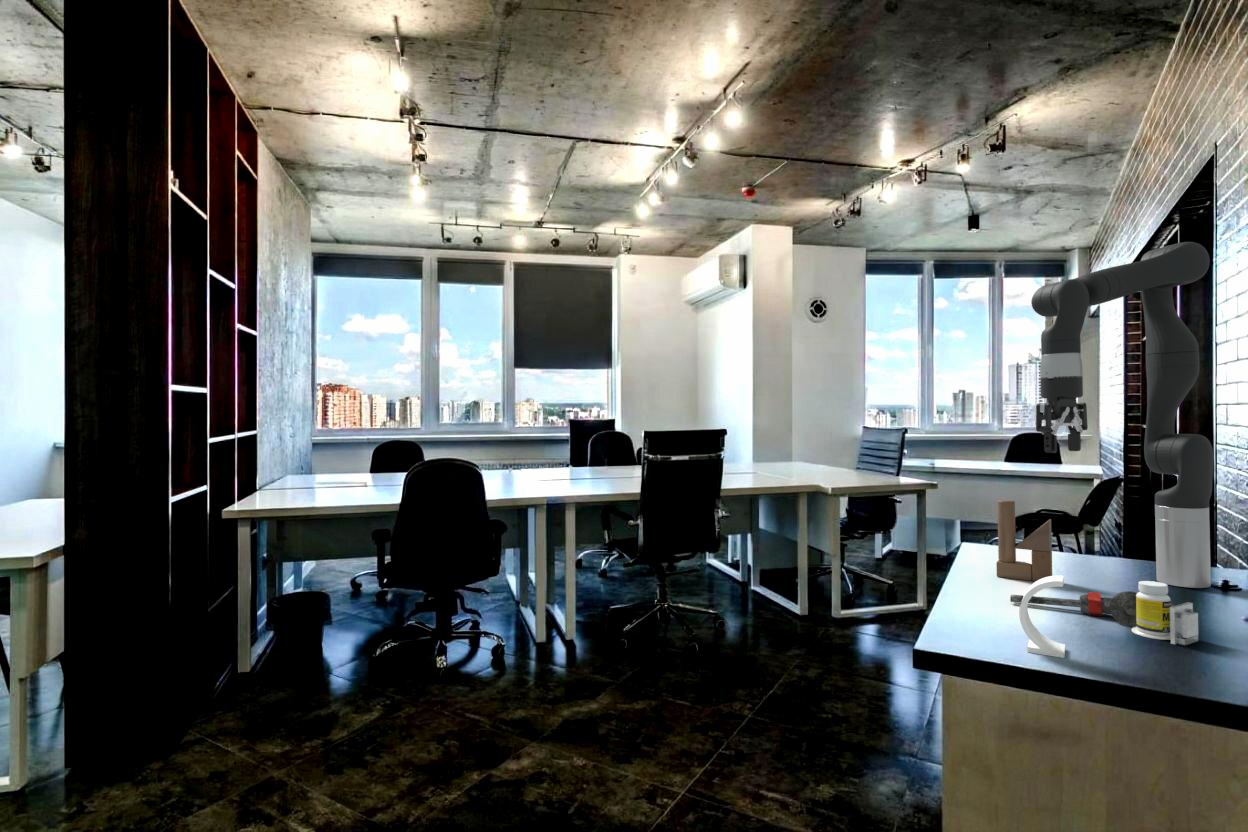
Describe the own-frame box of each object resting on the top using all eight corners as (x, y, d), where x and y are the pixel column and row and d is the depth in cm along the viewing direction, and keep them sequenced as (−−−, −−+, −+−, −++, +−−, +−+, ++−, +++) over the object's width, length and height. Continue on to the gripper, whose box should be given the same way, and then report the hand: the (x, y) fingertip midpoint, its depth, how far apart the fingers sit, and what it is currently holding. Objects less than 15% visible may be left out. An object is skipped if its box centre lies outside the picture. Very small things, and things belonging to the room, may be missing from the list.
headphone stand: (1064, 658, 104) (1062, 581, 104) (1019, 650, 107) (1018, 576, 107) (1065, 649, 108) (1064, 575, 108) (1022, 642, 111) (1020, 571, 111)
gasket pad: (1142, 626, 118) (1142, 624, 118) (1183, 636, 113) (1183, 634, 113) (1124, 631, 116) (1124, 630, 116) (1164, 641, 110) (1164, 640, 110)
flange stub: (1189, 637, 112) (1188, 602, 112) (1202, 640, 111) (1201, 604, 111) (1170, 643, 110) (1169, 607, 110) (1183, 646, 108) (1182, 609, 108)
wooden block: (1050, 583, 149) (1048, 503, 149) (996, 577, 156) (994, 500, 156) (1052, 580, 152) (1051, 502, 152) (999, 574, 159) (998, 499, 159)
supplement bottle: (1168, 638, 111) (1167, 588, 111) (1133, 632, 115) (1132, 583, 115) (1174, 632, 114) (1173, 583, 114) (1140, 626, 118) (1139, 578, 118)
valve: (1174, 623, 126) (1180, 633, 115) (1017, 609, 142) (1008, 615, 130) (1171, 589, 127) (1177, 595, 116) (1015, 578, 143) (1006, 582, 131)
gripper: (1062, 377, 147) (1064, 450, 147) (1022, 376, 141) (1024, 452, 141) (1099, 375, 141) (1100, 451, 141) (1059, 374, 134) (1061, 453, 134)
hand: (1062, 451), depth 141 cm, fingers open, 8 cm apart
